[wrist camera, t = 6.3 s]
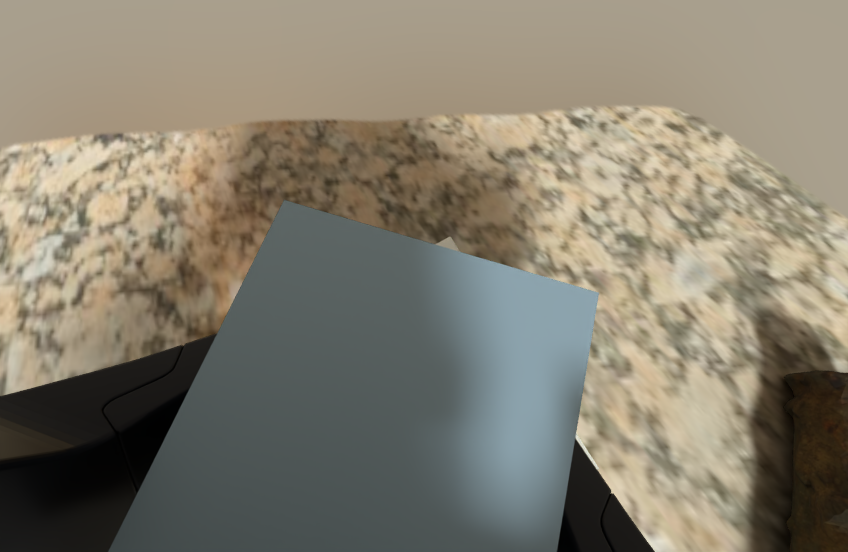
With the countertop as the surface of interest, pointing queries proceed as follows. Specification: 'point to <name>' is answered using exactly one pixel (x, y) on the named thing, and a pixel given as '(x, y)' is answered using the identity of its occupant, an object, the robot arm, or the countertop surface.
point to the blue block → (373, 404)
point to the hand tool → (819, 461)
